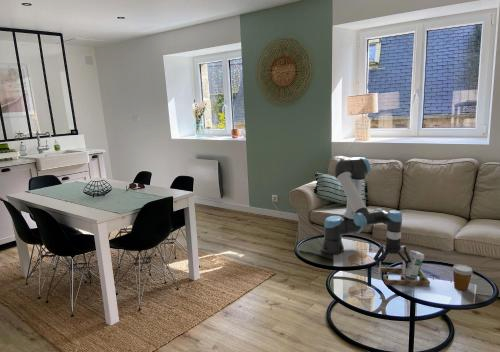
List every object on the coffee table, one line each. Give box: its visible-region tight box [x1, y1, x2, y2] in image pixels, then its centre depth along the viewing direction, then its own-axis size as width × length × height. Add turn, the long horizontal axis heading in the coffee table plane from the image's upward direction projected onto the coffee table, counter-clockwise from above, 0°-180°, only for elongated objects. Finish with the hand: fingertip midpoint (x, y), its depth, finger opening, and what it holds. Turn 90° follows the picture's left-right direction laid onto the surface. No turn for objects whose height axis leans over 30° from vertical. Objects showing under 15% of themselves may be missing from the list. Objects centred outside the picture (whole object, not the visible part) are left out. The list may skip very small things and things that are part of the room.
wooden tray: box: [380, 266, 431, 288], centre depth 210 cm, size 23×16×3 cm
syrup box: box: [404, 250, 425, 279], centre depth 211 cm, size 6×6×14 cm
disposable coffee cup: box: [452, 263, 474, 292], centre depth 197 cm, size 10×10×12 cm
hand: (391, 272), depth 213 cm, fingers open, 13 cm apart
